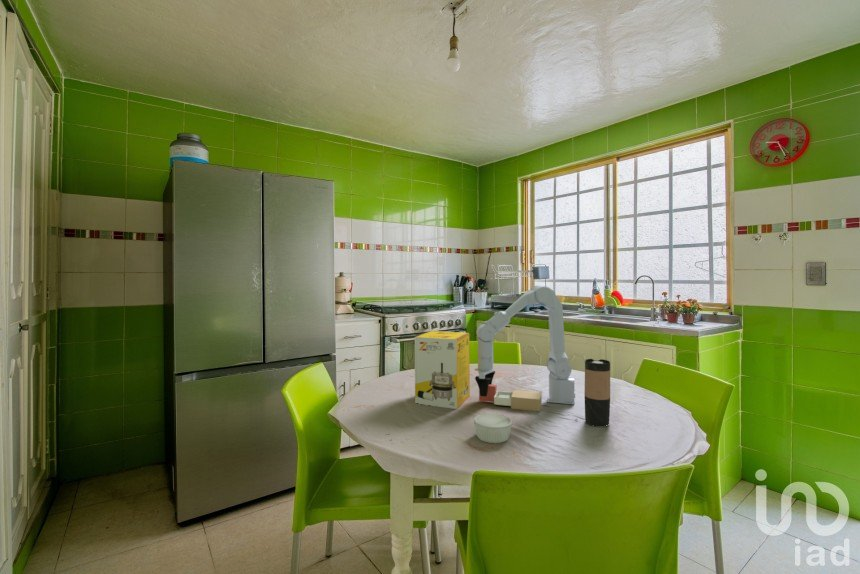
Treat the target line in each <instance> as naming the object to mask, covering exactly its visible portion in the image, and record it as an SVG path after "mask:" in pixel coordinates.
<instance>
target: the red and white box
mask: <svg viewBox="0 0 860 574" xmlns="http://www.w3.org/2000/svg"><path fill="white" fill-rule="evenodd" d="M512 394H513V391H506V390H505V391H503V390H497V384H489V385H488V392H487V396H486V397H485V396H481V395H480V391H479V390H478V401H479V402H490V403H493V405H497V406H505V407H506V406H507V407H511V396H512Z"/></svg>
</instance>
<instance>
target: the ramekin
mask: <svg viewBox="0 0 860 574" xmlns="http://www.w3.org/2000/svg"><path fill="white" fill-rule="evenodd" d="M473 424H474V428H475V435H476V437H477V438H478V439H479V440H480V441H481V442H484V443H489V444H501V443H504V442H506V441H508V440H509V438H510V435H511V430H512V426H513V420H512V418H510V417H509V416H507V415H504V414H499V413H491V412H490V413H482V414H478V415H476V416H475V417H474V419H473Z"/></svg>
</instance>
